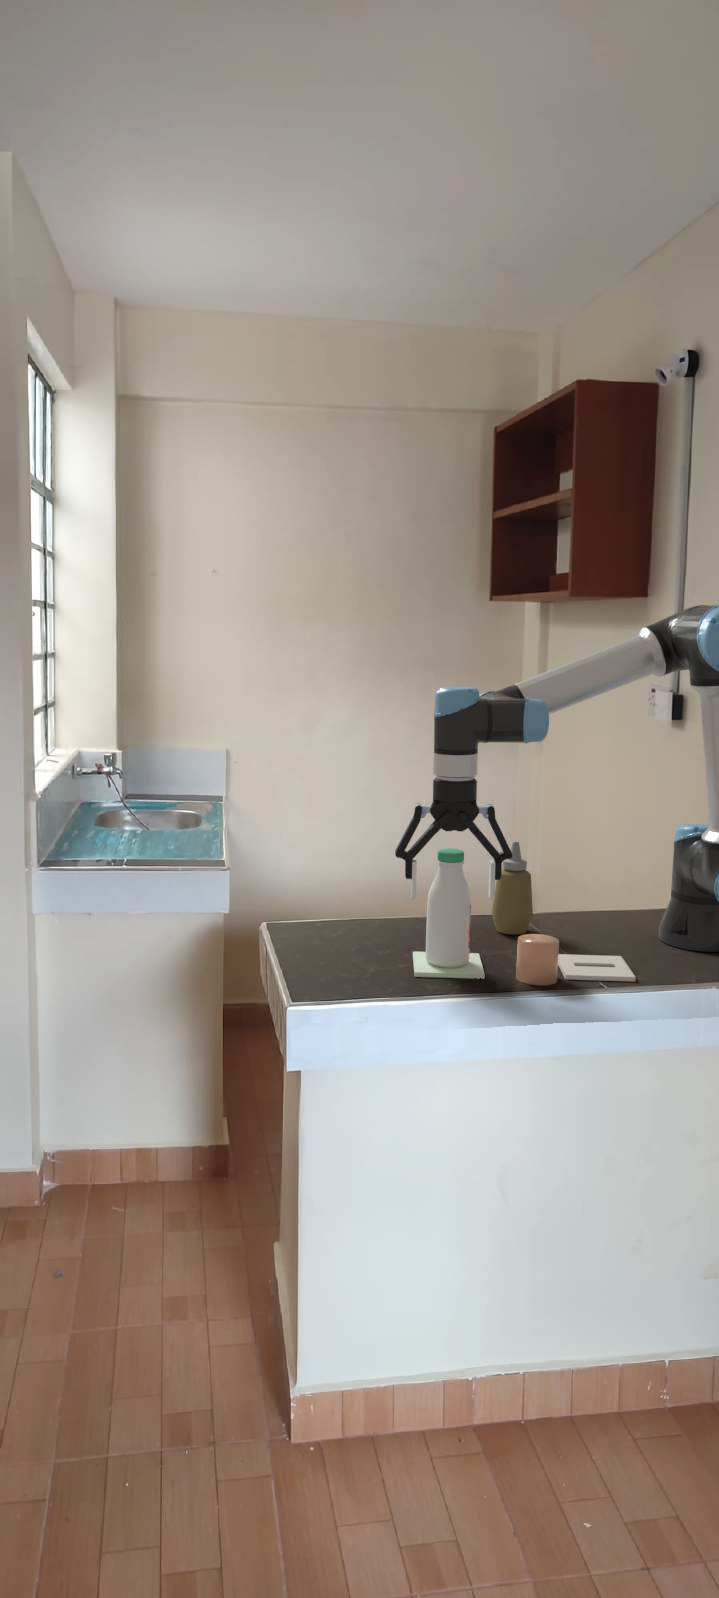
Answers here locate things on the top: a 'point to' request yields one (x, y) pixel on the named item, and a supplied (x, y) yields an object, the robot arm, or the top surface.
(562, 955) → the tile
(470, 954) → the tile
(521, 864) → the squeeze bottle
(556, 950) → the rounded peach cylinder
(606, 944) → the top surface
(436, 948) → the milk bottle
